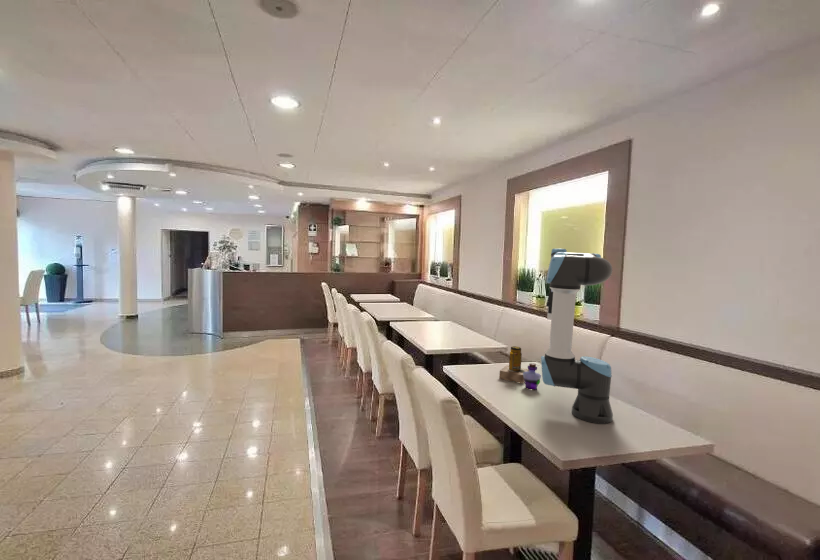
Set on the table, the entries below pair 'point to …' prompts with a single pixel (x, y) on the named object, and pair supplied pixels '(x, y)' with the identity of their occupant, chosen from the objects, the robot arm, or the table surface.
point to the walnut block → (512, 375)
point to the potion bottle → (531, 377)
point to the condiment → (515, 360)
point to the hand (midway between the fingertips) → (554, 318)
